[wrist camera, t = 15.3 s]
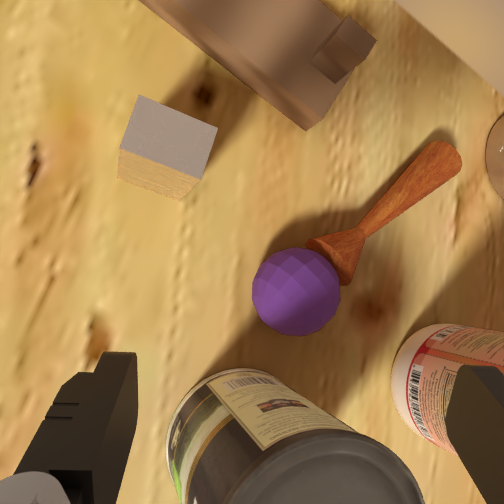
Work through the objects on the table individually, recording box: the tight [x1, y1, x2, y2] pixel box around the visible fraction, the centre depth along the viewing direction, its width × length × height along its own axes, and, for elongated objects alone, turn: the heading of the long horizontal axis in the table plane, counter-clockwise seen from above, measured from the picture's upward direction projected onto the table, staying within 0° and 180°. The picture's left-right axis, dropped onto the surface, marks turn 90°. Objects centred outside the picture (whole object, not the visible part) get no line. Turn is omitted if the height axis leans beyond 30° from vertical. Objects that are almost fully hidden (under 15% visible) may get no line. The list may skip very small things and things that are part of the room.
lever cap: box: [117, 95, 218, 201], centre depth 28 cm, size 4×3×8 cm
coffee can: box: [166, 368, 425, 504], centre depth 26 cm, size 10×10×14 cm
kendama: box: [252, 141, 462, 336], centre depth 34 cm, size 6×6×20 cm
